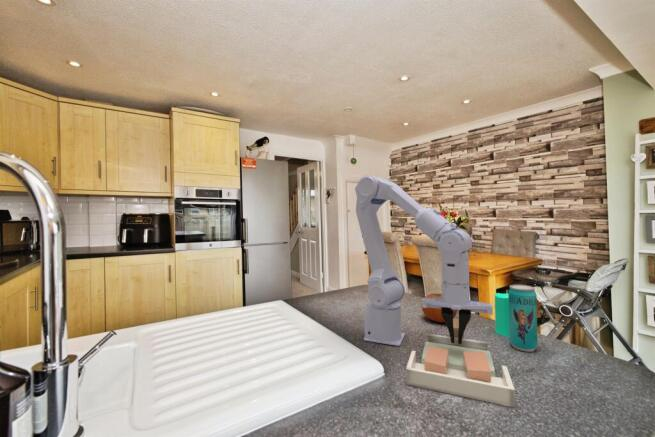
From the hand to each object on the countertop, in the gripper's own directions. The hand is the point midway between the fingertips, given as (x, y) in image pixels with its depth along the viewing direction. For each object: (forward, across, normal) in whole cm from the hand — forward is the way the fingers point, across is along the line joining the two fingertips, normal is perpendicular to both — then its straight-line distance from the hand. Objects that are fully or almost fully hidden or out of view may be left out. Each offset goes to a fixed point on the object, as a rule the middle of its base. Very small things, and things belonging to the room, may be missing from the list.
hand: (456, 341), depth 66 cm
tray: (+4, 0, -10) cm, 11 cm away
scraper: (+4, 0, +8) cm, 9 cm away
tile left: (+3, -4, -7) cm, 8 cm away
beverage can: (+4, +15, +12) cm, 20 cm away
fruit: (+4, -5, +26) cm, 26 cm away
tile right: (+3, +4, -7) cm, 8 cm away
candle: (+4, +13, +22) cm, 25 cm away
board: (+4, 0, -1) cm, 4 cm away
